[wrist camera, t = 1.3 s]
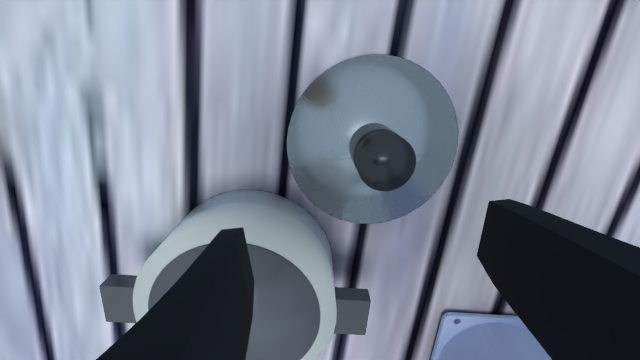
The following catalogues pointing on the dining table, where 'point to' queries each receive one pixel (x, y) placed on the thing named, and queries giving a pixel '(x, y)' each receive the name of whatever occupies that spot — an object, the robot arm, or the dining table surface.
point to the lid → (372, 139)
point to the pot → (255, 275)
